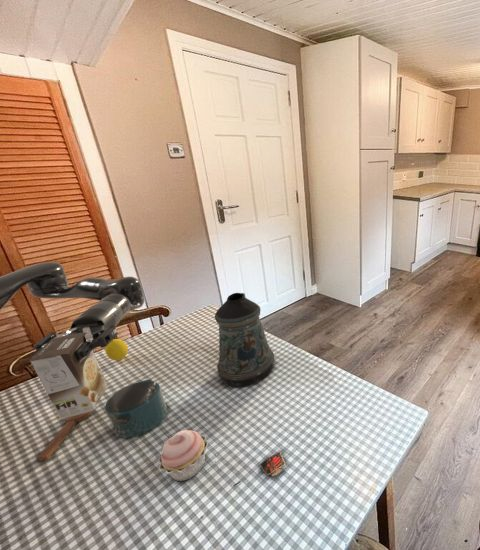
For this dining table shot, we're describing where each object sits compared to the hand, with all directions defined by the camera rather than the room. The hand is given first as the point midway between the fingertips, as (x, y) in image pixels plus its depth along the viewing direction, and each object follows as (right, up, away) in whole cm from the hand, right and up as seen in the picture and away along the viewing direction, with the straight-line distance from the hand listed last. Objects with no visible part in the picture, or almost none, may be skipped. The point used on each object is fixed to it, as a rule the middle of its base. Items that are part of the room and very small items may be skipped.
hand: (56, 359), depth 65 cm
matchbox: (+47, -23, +1) cm, 52 cm away
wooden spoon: (-7, -20, +9) cm, 23 cm away
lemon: (-15, -10, +35) cm, 39 cm away
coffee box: (0, -12, +7) cm, 14 cm away
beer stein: (+28, -11, +31) cm, 44 cm away
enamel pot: (+9, -19, +13) cm, 24 cm away
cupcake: (+28, -24, +1) cm, 37 cm away
